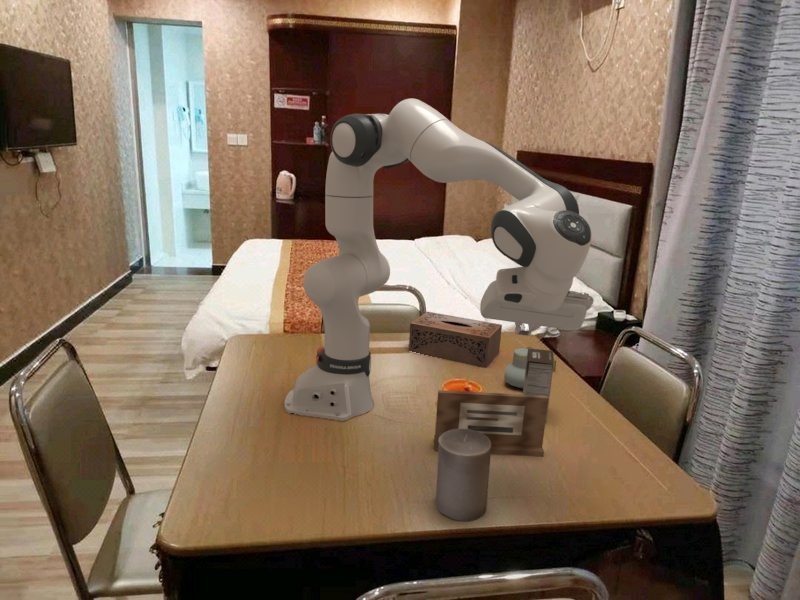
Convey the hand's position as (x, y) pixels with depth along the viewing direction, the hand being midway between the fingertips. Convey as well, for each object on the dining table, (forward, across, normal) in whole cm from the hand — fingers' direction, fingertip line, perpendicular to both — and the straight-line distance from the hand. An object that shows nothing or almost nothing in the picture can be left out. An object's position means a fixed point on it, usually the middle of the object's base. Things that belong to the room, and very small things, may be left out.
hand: (522, 332), depth 119 cm
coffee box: (+35, -14, -3) cm, 38 cm away
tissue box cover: (+59, +2, -36) cm, 69 cm away
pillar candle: (+16, +10, +31) cm, 36 cm away
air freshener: (+45, -14, -18) cm, 50 cm away
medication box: (+52, -23, -31) cm, 65 cm away
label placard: (+27, +1, +13) cm, 29 cm away
